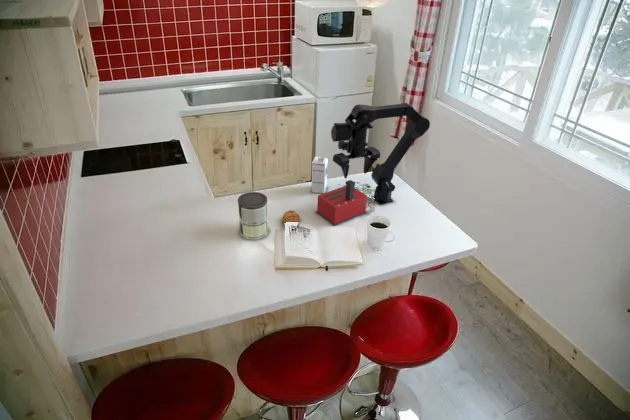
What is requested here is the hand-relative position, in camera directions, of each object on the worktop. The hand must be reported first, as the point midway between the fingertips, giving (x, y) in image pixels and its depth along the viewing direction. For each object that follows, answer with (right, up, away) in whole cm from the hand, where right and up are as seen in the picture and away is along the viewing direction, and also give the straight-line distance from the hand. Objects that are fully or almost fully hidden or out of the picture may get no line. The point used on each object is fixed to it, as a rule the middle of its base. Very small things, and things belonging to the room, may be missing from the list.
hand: (355, 175), depth 174 cm
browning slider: (-3, -9, -6) cm, 11 cm away
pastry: (-25, -19, -7) cm, 32 cm away
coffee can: (-38, -22, -12) cm, 46 cm away
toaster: (-5, -15, +1) cm, 16 cm away
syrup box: (-14, -5, +16) cm, 22 cm away
